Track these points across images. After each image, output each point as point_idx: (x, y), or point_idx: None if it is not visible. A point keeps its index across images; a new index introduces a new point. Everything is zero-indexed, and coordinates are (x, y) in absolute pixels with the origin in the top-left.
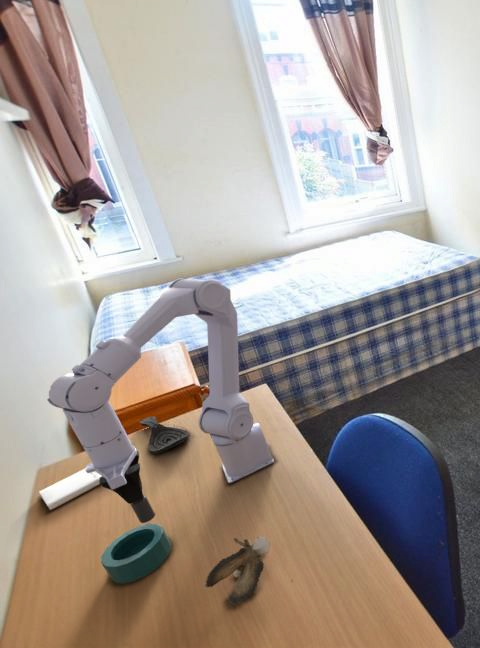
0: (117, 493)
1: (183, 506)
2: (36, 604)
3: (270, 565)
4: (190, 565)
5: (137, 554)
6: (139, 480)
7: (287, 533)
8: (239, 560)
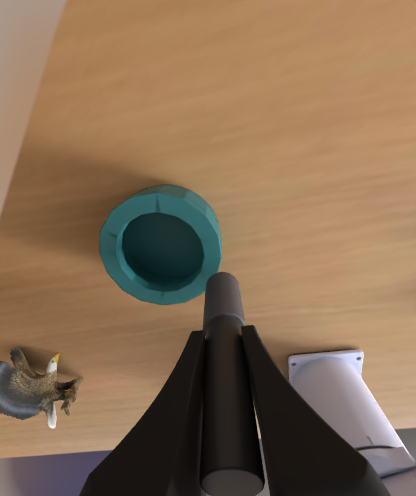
0: (162, 388)
1: (286, 290)
2: (160, 19)
3: None
4: (112, 305)
5: (118, 267)
6: (253, 399)
7: (110, 403)
8: (21, 402)
